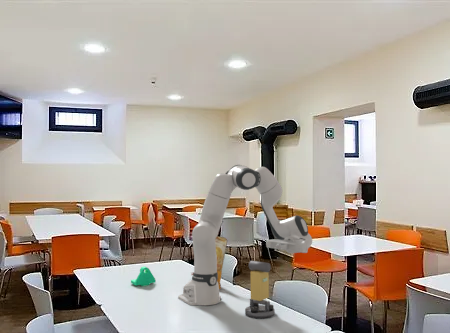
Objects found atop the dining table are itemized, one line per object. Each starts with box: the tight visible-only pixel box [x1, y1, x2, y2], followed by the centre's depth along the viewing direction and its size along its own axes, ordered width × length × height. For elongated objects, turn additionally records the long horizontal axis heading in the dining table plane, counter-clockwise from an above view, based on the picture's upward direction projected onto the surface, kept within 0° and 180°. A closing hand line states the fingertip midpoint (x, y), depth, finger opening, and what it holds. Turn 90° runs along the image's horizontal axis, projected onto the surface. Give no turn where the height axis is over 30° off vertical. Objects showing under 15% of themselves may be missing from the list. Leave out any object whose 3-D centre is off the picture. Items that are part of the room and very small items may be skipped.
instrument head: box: [248, 260, 272, 306], centre depth 189 cm, size 9×7×18 cm
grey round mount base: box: [244, 298, 276, 320], centre depth 189 cm, size 13×13×6 cm
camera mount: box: [130, 265, 156, 287], centre depth 242 cm, size 12×8×10 cm, turn 125°
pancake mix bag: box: [215, 235, 228, 290], centre depth 238 cm, size 7×19×28 cm, turn 34°
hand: (278, 247), depth 202 cm, fingers closed
